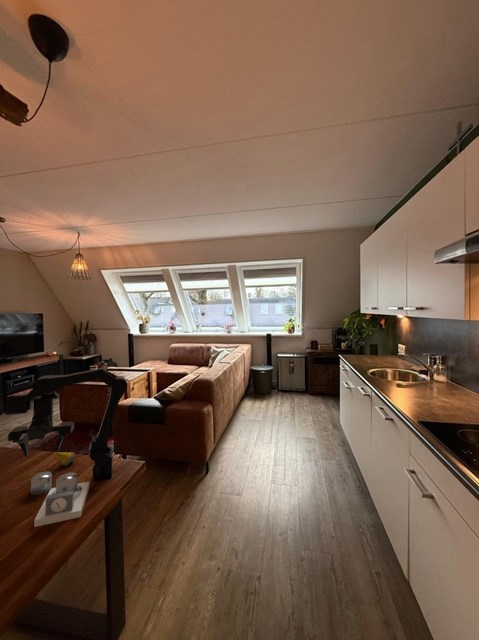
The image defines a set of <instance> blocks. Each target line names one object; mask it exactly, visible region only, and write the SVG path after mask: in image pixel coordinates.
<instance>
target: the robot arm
mask: <svg viewBox="0 0 479 640" xmlns="http://www.w3.org/2000/svg"><path fill="white" fill-rule="evenodd" d="M95 380H99V381H101V382H102V383H104V384H105V385H107V386H108V387H110V390H109V391H110V392H109V399H108V402H107V406H106V408H105V411H104V415H103V417H102V421H101V424H100V427H99V430H98V433H97V434H96V436H95V435H92V437H91V442H90V443H89V445H88V453H87V454H89V458H90V460H91V461H93V462H94V464H93V466H92V475H91V476H92V478H93V479H92V481H93V482H98V481H99V482H100V481H105V480H111V479H112V478H113V474H114V467H113V466H114V465H113V463H114V462H113V461H114V457H113V449H112V448H111V447H110V446H109V445H108V441H109V436H110V435H109V434H110V432H111V429H112V425H113V423H114V419H115V415H116V413H117V409H118V405H119V403H120V401H121V399H122V398H123V396H124V394H125V392H126V390H127V388H128V383H127V380H126V377H124V376H122V375H117V374H115V373H112V372H111V371H108V370H107V369H105V368H104V367H99V368H95V369H90V370H85V371H79V372H75V373H70V374H62V375H60V374H59V375H57V374H54V375H53V374H50V375H42V376H40V377H39V378H38V379H36V380H35V381H34V382H33V383H32V385H31V386H32V389H31V390H29V392H27V393H26V394H24V393H23V394H10V395H8V396H7V400H6V403H5V407H4V414H5V416H14V415H25V414H29V413H28V412H29V411H31V410H33V415H32V417H31V423H30V425H29V426H28V425H24V426H16V427H14V428H13V429H12V430H11V431H10V432H9V433H8V434H7V442H12V443H16V444H18V445H19V447H20V449H21V450H22V452H23V454H24V456H25V457H28V456H29V450H30V449H29V448H30V447H29V446H30V445H29V441H34V440H35V441H36V440H42V439H44V438H45V437H46V435H48V434H52V433H56V432H57V436H56V438H57V441H56V446H55V452H56V453H57V452H59V450H60V447H61V445H62V443H63V440H64V438H65V437H67V436H68V435H70V434H71V433H73V430H74V429H75V422H74V421H62V422H61V423H60V425H54V420H53V415H54V400H55V399H59V397H60V393H58V392H57V390H59V389H61V388H63V387H68V386H71V385H76V384H81V383H87V382H91V381H95ZM39 395H40V396H39ZM56 453H55V454H56Z"/></svg>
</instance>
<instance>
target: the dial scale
mask: <svg viewBox="0 0 479 640" xmlns="http://www.w3.org/2000/svg"><path fill="white" fill-rule="evenodd" d="M90 483H91V482H90V481H84V482H77V491H76V492H75V493H74V491H69V492H63V493H58V494H56V487H51V489H50V490H49V491H48V494H47V496H46V497H45V499H44V501H43V503H42V505H41V507H40V509H39V511H38V512H37V515H36V516H35V518H34V520H33V521H34V523H33V524H34V525H33V527H34V528H36V527H41V526H44V525H50V524H54V523H55V524H56V523H59V522H63V521H67V520H72V519H77V518H82V517H81V516H82V512H83V509H84V506H85V502H86V499H87V497H88V493H89V489H90Z"/></svg>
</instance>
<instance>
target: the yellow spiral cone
mask: <svg viewBox="0 0 479 640" xmlns="http://www.w3.org/2000/svg"><path fill="white" fill-rule="evenodd" d="M54 454H55V455H56V456H57V458H58V459H59V461H60V463H61V466H65V467H66V466H68V465H70V463H73V462H75V459H76V458H75V453H74V452H73V451H69V452H63V451H62V452H60V451H58V452H57V453H56V451H54Z"/></svg>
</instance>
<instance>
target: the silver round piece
mask: <svg viewBox="0 0 479 640" xmlns="http://www.w3.org/2000/svg"><path fill="white" fill-rule="evenodd" d="M55 480H56V481H55V488H56V494H58V493H63V492H69V491H74V493H75V492H76V491H77V484H78V473H76V472H73V471H72V472H71V471H70V472H66V473H62V474H61V475H59V476H58V477H57V478H56V479H55Z"/></svg>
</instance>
